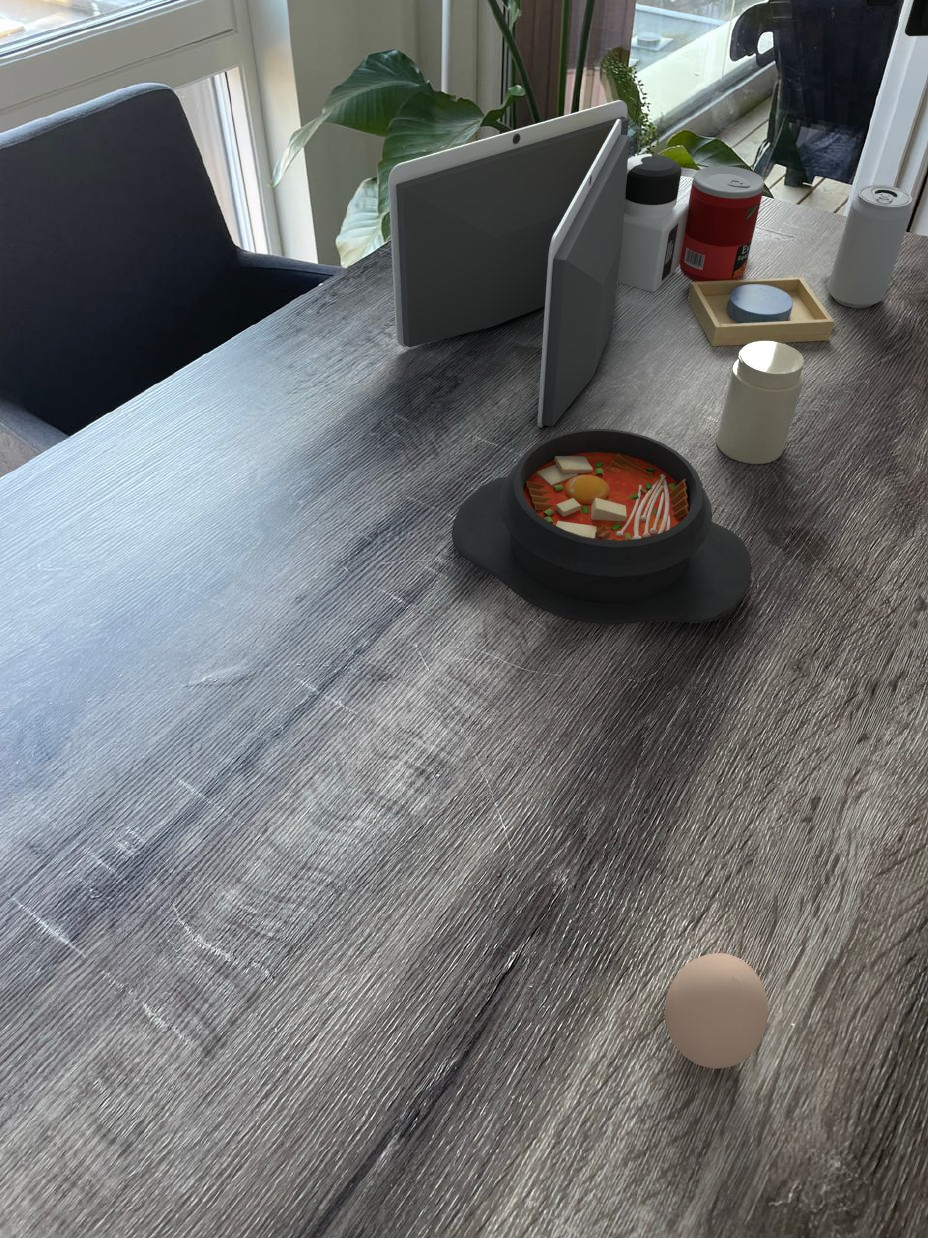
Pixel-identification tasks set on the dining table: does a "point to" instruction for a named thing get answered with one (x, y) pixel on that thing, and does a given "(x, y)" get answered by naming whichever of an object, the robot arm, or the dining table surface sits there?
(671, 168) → the container
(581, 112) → the grey hinged panel
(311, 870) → the dining table surface
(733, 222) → the canned food
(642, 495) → the casserole
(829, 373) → the dining table surface
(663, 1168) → the dining table surface
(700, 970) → the egg
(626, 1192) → the dining table surface
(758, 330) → the tray
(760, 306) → the lid
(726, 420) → the jar
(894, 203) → the beverage can
